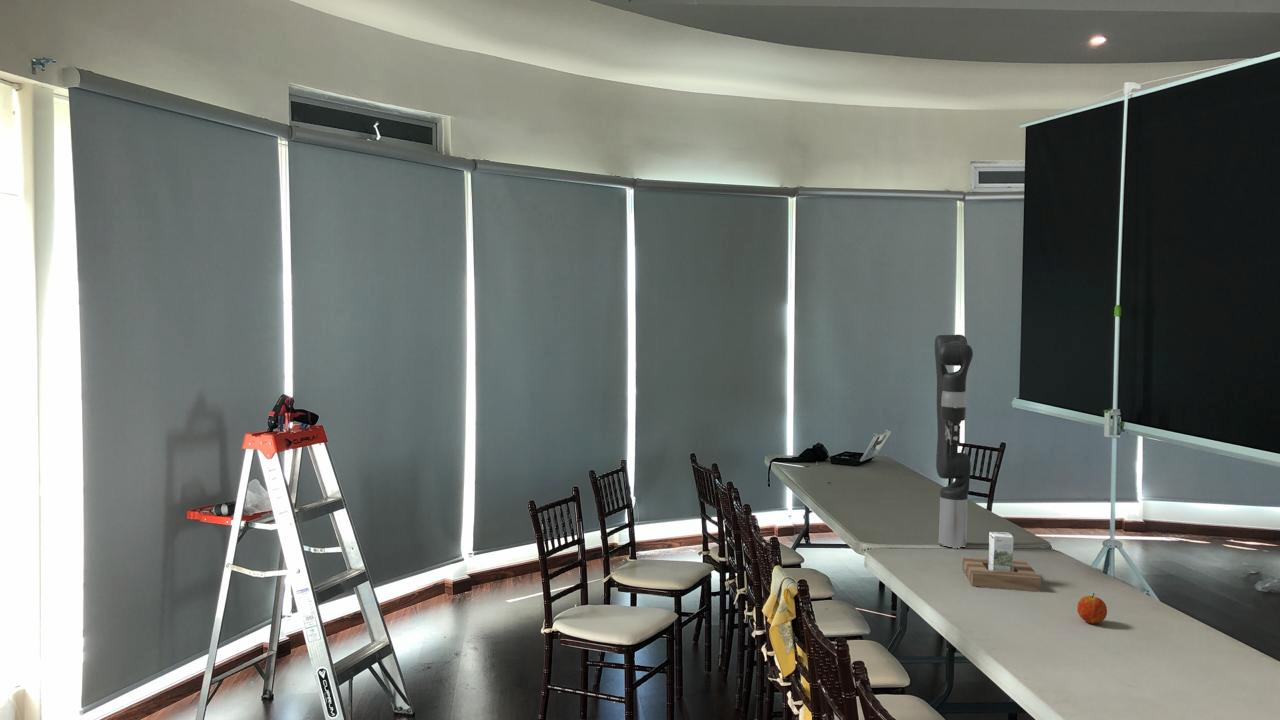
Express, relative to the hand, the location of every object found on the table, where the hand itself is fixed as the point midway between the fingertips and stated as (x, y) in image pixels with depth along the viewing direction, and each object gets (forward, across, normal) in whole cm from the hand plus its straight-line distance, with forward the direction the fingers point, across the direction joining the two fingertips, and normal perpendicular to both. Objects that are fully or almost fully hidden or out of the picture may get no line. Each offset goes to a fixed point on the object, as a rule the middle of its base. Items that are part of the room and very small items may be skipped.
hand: (951, 454), depth 286 cm
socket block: (+36, +16, +13) cm, 41 cm away
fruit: (+36, +52, +29) cm, 70 cm away
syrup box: (+36, +16, +13) cm, 42 cm away
